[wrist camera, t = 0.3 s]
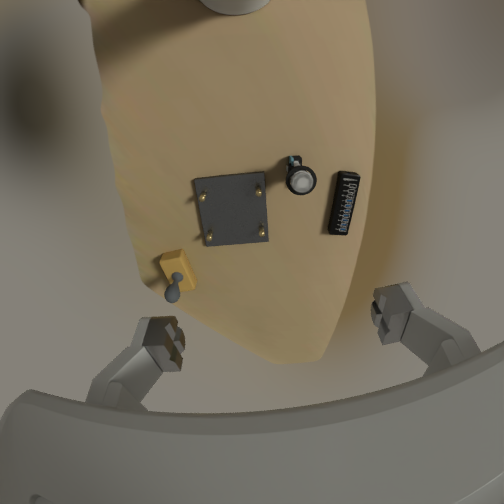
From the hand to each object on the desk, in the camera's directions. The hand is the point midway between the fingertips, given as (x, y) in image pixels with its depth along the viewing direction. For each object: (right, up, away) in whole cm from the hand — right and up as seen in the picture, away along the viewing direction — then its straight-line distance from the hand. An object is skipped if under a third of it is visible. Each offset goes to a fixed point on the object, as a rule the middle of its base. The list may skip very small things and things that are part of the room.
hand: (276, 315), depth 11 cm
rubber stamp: (-19, -1, +56) cm, 59 cm away
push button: (+7, +19, +43) cm, 48 cm away
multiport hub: (+19, +14, +48) cm, 53 cm away
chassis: (-5, +11, +48) cm, 49 cm away
